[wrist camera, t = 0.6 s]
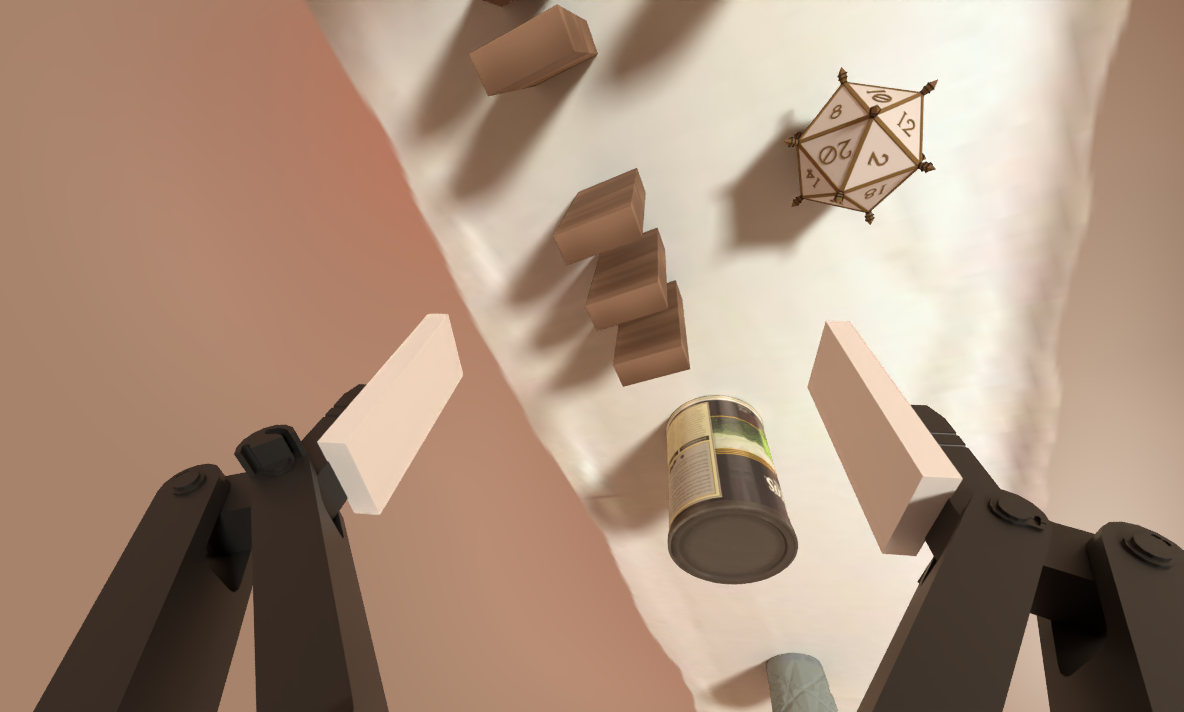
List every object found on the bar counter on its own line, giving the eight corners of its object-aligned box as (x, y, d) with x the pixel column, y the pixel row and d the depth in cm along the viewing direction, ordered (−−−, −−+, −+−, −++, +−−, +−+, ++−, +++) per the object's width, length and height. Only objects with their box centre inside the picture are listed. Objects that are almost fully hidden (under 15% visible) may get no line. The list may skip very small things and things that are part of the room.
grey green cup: (749, 664, 75) (763, 757, 65) (794, 643, 70) (818, 740, 60) (795, 685, 77) (815, 778, 67) (843, 666, 72) (873, 763, 62)
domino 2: (578, 192, 37) (553, 236, 28) (637, 167, 35) (630, 205, 26) (588, 215, 38) (566, 265, 28) (645, 192, 36) (642, 237, 27)
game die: (808, 160, 37) (769, 250, 33) (800, 51, 31) (752, 148, 27) (945, 151, 32) (917, 257, 28) (970, 18, 25) (938, 132, 22)
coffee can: (759, 387, 45) (795, 502, 33) (766, 460, 50) (800, 582, 38) (656, 401, 47) (656, 513, 36) (673, 470, 53) (679, 587, 41)
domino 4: (622, 297, 41) (613, 365, 32) (675, 280, 40) (681, 345, 31) (630, 316, 42) (623, 386, 33) (682, 299, 41) (690, 369, 32)
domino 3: (601, 247, 39) (585, 306, 30) (657, 227, 37) (658, 282, 28) (610, 268, 40) (596, 330, 31) (665, 249, 38) (667, 308, 29)
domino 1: (522, 55, 32) (468, 54, 23) (586, 20, 30) (557, 4, 21) (534, 86, 33) (488, 96, 24) (597, 53, 31) (574, 51, 22)
